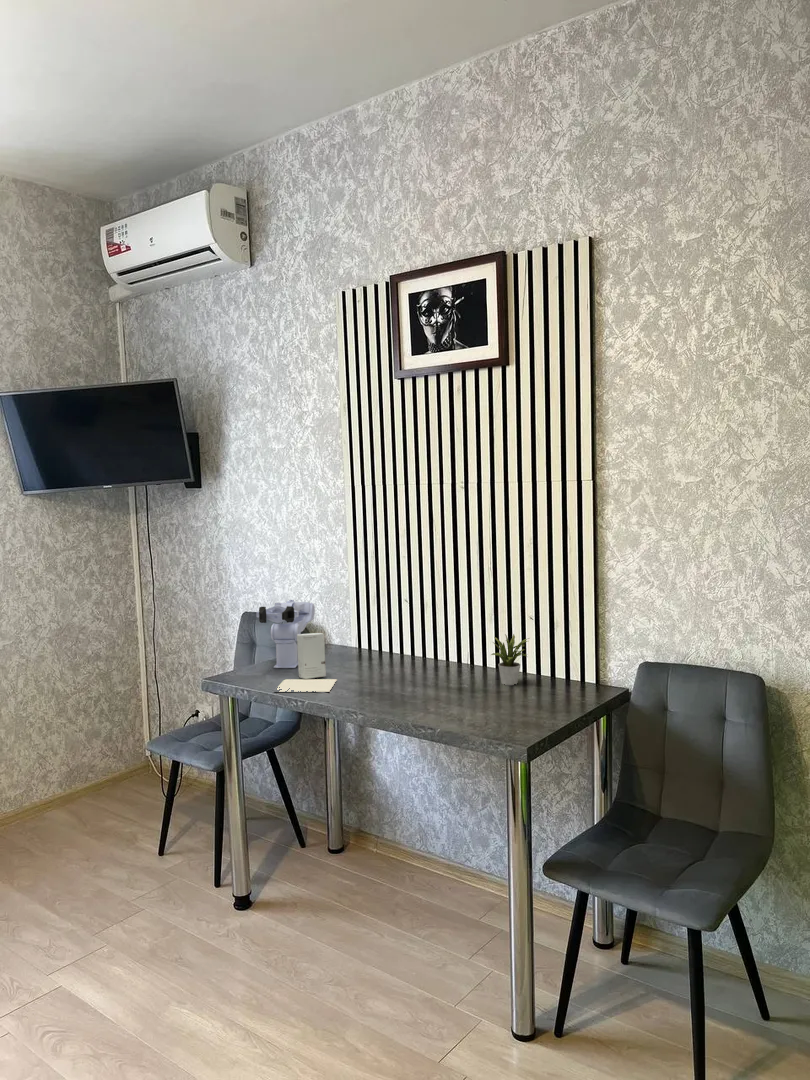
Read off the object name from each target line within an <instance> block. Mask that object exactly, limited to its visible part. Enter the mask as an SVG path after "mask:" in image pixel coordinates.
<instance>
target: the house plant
mask: <svg viewBox="0 0 810 1080" xmlns="http://www.w3.org/2000/svg"><path fill="white" fill-rule="evenodd" d="M504 635H505V638H506V640H505V642H506V644H505V642H502V641H500V640H499V639H498V638H497V637H495V636H494V639H495V640H496V642H497V644H496V643H495V642H494V641H492V643H493V645H495V646H496V647H497V649H498V650H499V652H496V653H495V652H493V653H491V654H490V656H497V657H499V658H500V659H501V661H502V662H500V663H498V670H499V676H500V682H501V684H502V685H504V684H505V685H504V686H515V685H514V684H516V685H517V683H519V676H520V670H521V663H519V662H517V661H516V660H517V658H518V657H520V656H521V657H523V656H525V657H527V654H526V653H525V654H524V652H523V651H526V648H525V649H524V648H523V649H521V650H519V649H520V648H521V647H522V646H524V644H525V643H527V642H528V640H529V639H530V637H529V638H525V639H523V640H521V641H520V642H519V643H518V644H517V645H515V643H516V642H515V638H516V637H515V634H514V633H513V635H512V636H511V637H512V638H511V639H510V640H509V639H508V635H507V634H506V633H505V634H504ZM505 645H507V648H506V646H505ZM522 652H523V653H522ZM521 657H520V658H518V660H519V659H521Z"/></svg>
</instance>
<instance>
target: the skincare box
mask: <svg viewBox="0 0 810 1080" xmlns="http://www.w3.org/2000/svg"><path fill="white" fill-rule="evenodd" d="M296 644H297V652H298V665H297V667H298V677H299V678H300V679H315V678H322V677H326V676H327V671H326V670H327V667H326V648H325V645H326V643H325V634H324V633H322V632H313V633H301V634H299V635H297V641H296Z"/></svg>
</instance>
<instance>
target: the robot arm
mask: <svg viewBox="0 0 810 1080" xmlns="http://www.w3.org/2000/svg"><path fill="white" fill-rule="evenodd" d="M315 608H316V607H315V603H314V602H310V601H309V602H308V601H295V600H294V599H288V600H286V602H275V603H274V605H273V606H271V607H268V608H267V607H266V606H259V608H258V611H256V612H255V614H256V618H258V621H259V623H261V624H262V623H263V624H266V623H267V620H268V621H270V622H273V623H272V625H270V626H271V628H270V638H271V640H272V641H273V642H274V644H275V651H276V652H275V655H276V658H275V659H276V664H275V665H274V666H273V669H296V667H298V648H297V635H299V634H302V632H304V630H305V628H306V627H307V625H308V624H309V623H310V622H312V621H314V619H315V612H316V610H315ZM283 622H286V623H283Z"/></svg>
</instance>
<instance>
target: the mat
mask: <svg viewBox="0 0 810 1080" xmlns="http://www.w3.org/2000/svg"><path fill="white" fill-rule="evenodd" d="M336 681H338V679H335V678H334V679H333V678H329V679H326V678H325V679H323V678H322V679H318V678H317V679H315V678H310V679H302V678H300V679H295V678H294V679H291V678H290V679H289V678H288V679H284V680H282V681H281V683H280V684H279V685H278V686H277V687H278V688H277V687H276V688H277V690H279V689H282V690H280V691H279V692H285V691H287V690H288V689H289V688H290V689H289V690H288V691H287V692H291V690H294V692H298V691H299V692H300V691H301V692H306V691H308V692H312V691H314V692H315V691H316V692H330V693H331V691H332V690H333V688H334V687H333V686H335V685H336V683H337V682H336ZM335 682H336V683H335ZM334 684H335V685H334ZM279 687H280V688H279ZM332 687H333V688H332ZM331 689H332V690H331ZM330 690H331V691H330Z"/></svg>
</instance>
